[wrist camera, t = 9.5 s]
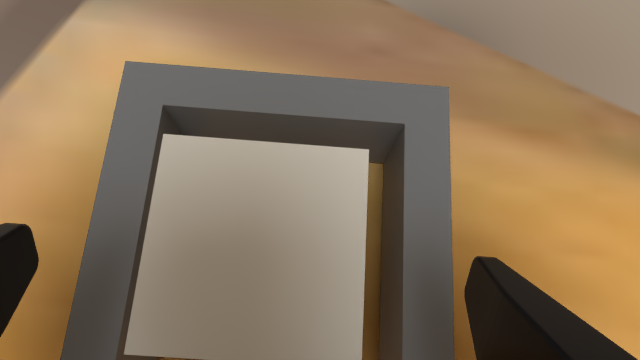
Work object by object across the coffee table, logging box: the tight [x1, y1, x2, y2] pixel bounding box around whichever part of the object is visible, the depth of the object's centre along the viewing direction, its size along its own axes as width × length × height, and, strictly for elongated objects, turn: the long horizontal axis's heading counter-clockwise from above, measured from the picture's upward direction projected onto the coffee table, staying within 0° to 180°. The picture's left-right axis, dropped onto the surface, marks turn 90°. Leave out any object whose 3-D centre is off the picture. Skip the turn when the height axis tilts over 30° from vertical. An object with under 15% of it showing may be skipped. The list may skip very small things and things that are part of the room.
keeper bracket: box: [60, 61, 454, 360], centre depth 16 cm, size 10×11×4 cm
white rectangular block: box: [124, 134, 369, 360], centre depth 13 cm, size 4×4×8 cm
